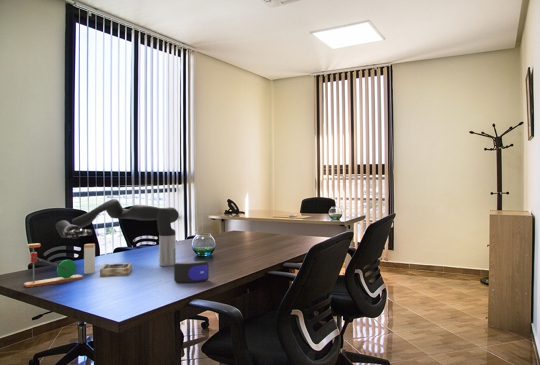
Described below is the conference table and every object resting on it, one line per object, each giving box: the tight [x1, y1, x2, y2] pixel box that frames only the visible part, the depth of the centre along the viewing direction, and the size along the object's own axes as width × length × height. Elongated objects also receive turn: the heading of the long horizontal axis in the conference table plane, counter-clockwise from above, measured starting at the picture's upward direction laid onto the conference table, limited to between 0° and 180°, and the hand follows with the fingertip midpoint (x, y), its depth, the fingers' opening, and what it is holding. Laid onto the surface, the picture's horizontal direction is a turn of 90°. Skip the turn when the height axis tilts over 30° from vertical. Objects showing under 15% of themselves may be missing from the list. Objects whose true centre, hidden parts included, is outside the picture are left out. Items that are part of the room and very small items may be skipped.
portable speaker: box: [173, 260, 210, 284], centre depth 193 cm, size 16×5×9 cm, turn 103°
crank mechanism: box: [23, 242, 84, 288], centre depth 195 cm, size 25×7×19 cm, turn 136°
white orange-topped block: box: [83, 243, 96, 274], centre depth 216 cm, size 4×4×15 cm
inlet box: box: [99, 262, 133, 277], centre depth 215 cm, size 14×14×4 cm
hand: (82, 234), depth 224 cm, fingers open, 8 cm apart
